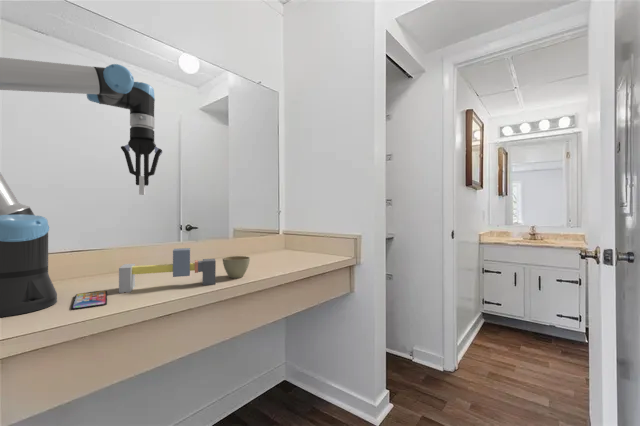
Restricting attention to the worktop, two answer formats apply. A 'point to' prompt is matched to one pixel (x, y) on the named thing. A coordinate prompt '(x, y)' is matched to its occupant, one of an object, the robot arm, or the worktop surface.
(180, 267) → the sleeve
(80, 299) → the smartphone
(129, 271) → the rail
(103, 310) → the worktop surface
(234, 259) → the flower pot
